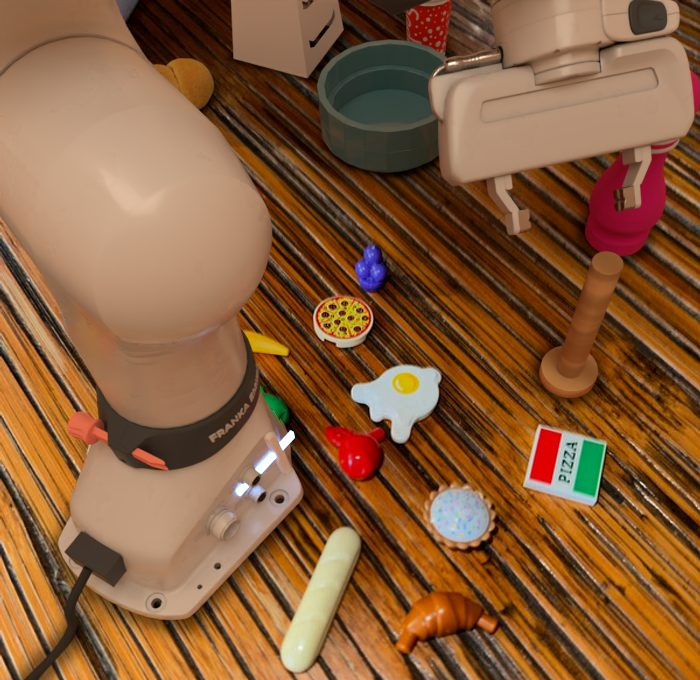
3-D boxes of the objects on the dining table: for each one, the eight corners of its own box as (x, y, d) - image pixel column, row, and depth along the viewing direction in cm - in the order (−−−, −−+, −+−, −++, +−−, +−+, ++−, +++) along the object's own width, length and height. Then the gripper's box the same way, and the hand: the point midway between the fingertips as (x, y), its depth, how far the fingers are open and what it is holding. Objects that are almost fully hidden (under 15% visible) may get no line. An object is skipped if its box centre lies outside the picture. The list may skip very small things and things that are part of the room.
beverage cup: (398, 45, 96) (399, -77, 84) (446, 40, 96) (454, -83, 84) (405, 75, 93) (408, -46, 81) (454, 70, 93) (465, -52, 81)
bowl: (418, 194, 84) (420, 148, 78) (297, 151, 88) (291, 105, 82) (477, 109, 90) (483, 62, 85) (361, 73, 94) (359, 26, 89)
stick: (583, 406, 70) (629, 297, 57) (530, 385, 71) (563, 274, 58) (603, 365, 72) (651, 251, 59) (551, 345, 73) (587, 229, 60)
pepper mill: (649, 265, 78) (727, 86, 60) (577, 256, 78) (633, 78, 61) (651, 214, 81) (725, 30, 63) (581, 206, 82) (635, 23, 64)
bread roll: (222, 107, 92) (216, 77, 89) (150, 126, 91) (141, 96, 87) (205, 67, 96) (198, 36, 92) (136, 85, 95) (126, 55, 91)
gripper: (433, 51, 55) (463, 247, 59) (699, -1, 56) (710, 193, 60) (414, 71, 61) (443, 248, 65) (655, 23, 62) (668, 199, 66)
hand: (574, 221), depth 63 cm, fingers open, 8 cm apart
